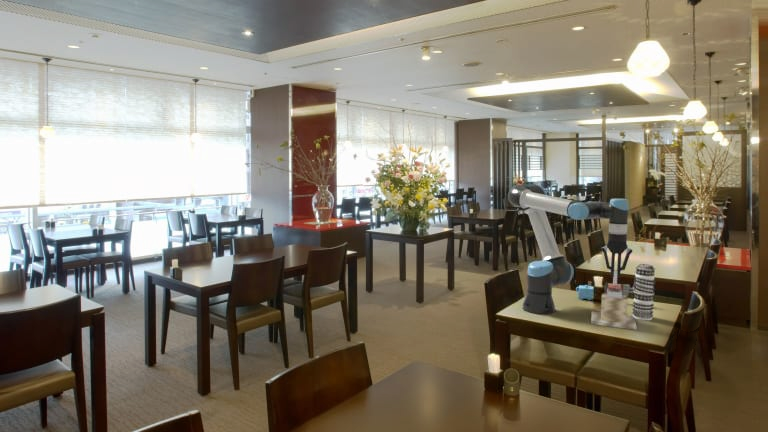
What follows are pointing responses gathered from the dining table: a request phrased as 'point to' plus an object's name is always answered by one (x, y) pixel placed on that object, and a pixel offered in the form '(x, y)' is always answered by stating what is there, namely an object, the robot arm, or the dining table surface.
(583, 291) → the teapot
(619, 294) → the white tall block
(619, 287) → the keeper flap
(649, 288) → the black and white tower
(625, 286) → the mechanical component
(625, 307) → the hitch block
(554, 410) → the dining table surface
